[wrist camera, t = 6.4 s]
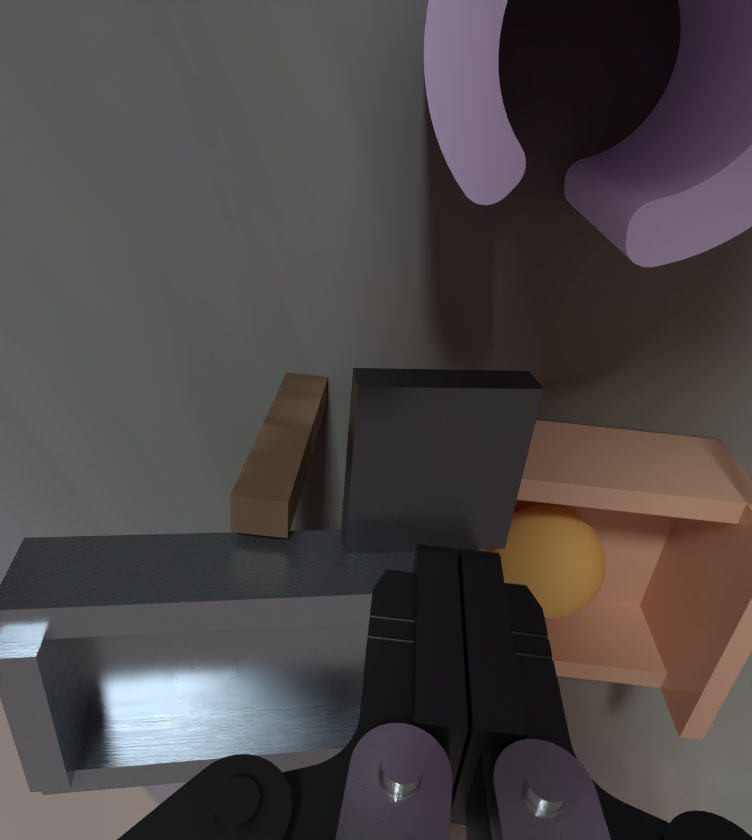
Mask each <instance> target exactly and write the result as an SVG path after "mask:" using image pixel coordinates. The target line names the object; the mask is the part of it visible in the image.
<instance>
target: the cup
mask: <svg viewBox="0 0 752 840" xmlns="http://www.w3.org/2000/svg"><path fill="white" fill-rule="evenodd" d="M535 505H554V506H559V507H563V508H565V509H568V510H570V511H572V512H574V513H576V514H577V515H579V516H580V517H582V518H583V519H584V520H585V521H586V522H587V523H588V524H589V525H590V526H591V527H592V528H593V530H594V531H595V533H596V534H597V536H598V538H599V539H600V542H601V545H602V547H603V550H604V555H605V574H604V579H603V582H602V585H601V587H600V589H599V591H598V593H597V595H596V596H595V597H594V599H593V600H592V601H591V602H590V603H589V604H588V605H587V606H585V607H584V608H583V609H581V610H580V611H578V612H576V613H574V614H572V615H569V616H566V617H561V618H545V622H546V627H547V632H548V639H549V641H550V646H551V651H552V661H554V665H555V670H556V675H557V676H562V677H571V678H579V679H588V680H596V681H605V682H614V683H622V684H631V685H640V686H648V687H657V688H661V690H662V693H663V696H664V698H665V701H666V703H667V706H668V709H669V711H670V714H671V717H672V719H673V722H674V724H675V727H676V730H677V732H678V735H679V737H680V738H689V739H697V740H703V738H704V737H705V735H706V733H707V731H708V729H709V728H710V726H711V724H712V722H713V720H714V718H715V717H716V715H717V713H718V711H719V709H720V708H721V706H722V704H723V702H724V700H725V698H726V697H727V695H728V693H729V691H730V689H731V688H732V686H733V684H734V682H735V680H736V678H737V677H738V675H739V673H740V671H741V669H742V668H743V666H744V664H745V662H746V660H747V658H748V657H749V655H750V653H751V651H752V480H751V478H750V477H749V476H748V475H747V473H746V472H745V471H744V470H743V468H742V467H741V466H740V464H739V463H738V462H737V461H736V459H735V458H734V457H733V456H732V454H731V453H730V452H729V451H728V449H727V448H726V447H725V446H724V444H723V443H722V442H721V441H720V440H718V439H709V438H700V437H691V436H682V435H672V434H663V433H654V432H645V431H635V430H626V429H617V428H608V427H599V426H589V425H580V424H571V423H562V422H553V421H543V420H536V423H535V427H534V431H533V435H532V439H531V443H530V447H529V451H528V456H527V460H526V464H525V468H524V472H523V476H522V480H521V484H520V489H519V493H518V497H517V501H516V505H515V509H514V513H516V512H518V511H520V510H522V509H524V508H527V507H530V506H535ZM514 513H513V514H514ZM479 550H480V551H486V552H491V549H479Z"/></svg>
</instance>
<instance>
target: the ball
mask: <svg viewBox="0 0 752 840" xmlns="http://www.w3.org/2000/svg"><path fill="white" fill-rule="evenodd" d="M491 552H495V553H499V554H500V557H501V563H502V570H503V576H504V583H512V584H520V585H527V587H528V588H529V590H530V591H531V592H532V594H533V595H534V597H535V598H536V600H537V601H538V603H539V604H540V605H541V607H542V608H543V613H544V618H561V617H566V616H569V615H572V614H574V613H576V612H578V611H580V610H581V609H583V608H584V607H585V606H587V605H588V604H589V603H590V602H591V601H592V600H593V599H594V597H595V596H596V595H597V593H598V591H599V589H600V587H601V585H602V582H603V579H604V574H605V555H604V550H603V547H602V545H601V542H600V539H599V538H598V536H597V534H596V533H595V531H594V530H593V528H592V527H591V526H590V525H589V524H588V523H587V522H586V521H585V520H584V519H583V518H582V517H580V516H579V515H577V514H576V513H574V512H572V511H570V510H568V509H565V508H563V507H559V506H554V505H535V506H530V507H527V508H524V509H522V510H520V511H518V512H516V513H514V514H513V517H512V522H511V526H510V530H509V534H508V538H507V542H506V546H505V549H491Z"/></svg>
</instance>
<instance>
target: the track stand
mask: <svg viewBox="0 0 752 840" xmlns="http://www.w3.org/2000/svg"><path fill="white" fill-rule="evenodd" d="M327 384H328V377H320V376H311V375H302V374H292V373H286V375H285V377H284V380H283V382H282V384H281V386H280V388H279V391H278V393H277V395H276V397H275V399H274V401H273V404H272V406H271V408H270V410H269V412H268V414H267V417H266V419H265V421H264V423H263V425H262V428H261V430H260V432H259V434H258V436H257V438H256V441H255V443H254V445H253V447H252V449H251V452H250V454H249V456H248V458H247V460H246V462H245V465H244V467H243V469H242V471H241V473H240V475H239V478H238V480H237V482H236V484H235V486H234V489H233V491H232V493H231V495H230V502H231V531H232V532H236V533H245V534H254V535H262V536H271V537H280V538H288V535H289V531H290V528H291V524H292V521H293V518H294V514H295V511H296V508H297V504H298V501H299V497H300V494H301V491H302V487H303V484H304V480H305V477H306V474H307V470H308V467H309V463H310V460H311V457H312V453H313V450H314V447H315V443H316V440H317V436H318V433H319V430H320V426H321V423H322V419H323V416H324V413H325V409H326V403H327Z"/></svg>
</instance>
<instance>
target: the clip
mask: <svg viewBox="0 0 752 840" xmlns="http://www.w3.org/2000/svg"><path fill="white" fill-rule="evenodd" d="M507 1H508V0H429V2H428V7H427V16H426V24H425V36H424V75H425V85H426V94H427V100H428V106H429V112H430V116H431V120H432V123H433V127H434V131H435V134H436V137H437V140H438V143H439V146H440V149H441V151H442V153H443V156H444V158H445V160H446V163H447V165H448V167H449V169H450V170H451V172H452V174H453V176H454V178H455V180H456V181H457V183H458V184H459V186H460V187H461V189H462V191H463V192H464V194H465V195H466V196H467V197H468V198H469V199H470V200H471V201H473V202H475V203H477V204H481V205H491V204H494V203H497V202H499V201H501V200H502V199H503V198H505V197H506V196H507V195H508V194H509V193H510V192H511V191H512V190H513V189H514V188H515V187H516V185H517V184H518V183H519V182H520V180H521V179H522V177H523V175H524V172H525V168H526V158H525V153H524V151H523V149H522V147H521V145H520V143H519V142H518V140H517V138H516V136H515V135H514V132H513V130H512V128H511V125H510V123H509V121H508V118H507V114H506V111H505V108H504V105H503V100H502V95H501V90H500V81H499V71H498V52H499V41H500V32H501V27H502V21H503V16H504V12H505V8H506V5H507ZM678 3H679V9H680V19H681V36H680V45H679V52H678V56H677V60H676V64H675V67H674V70H673V74H672V76H671V79H670V81H669V83H668V86H667V88H666V90H665V92H664V94H663V95H662V97H661V99H660V101H659V102H658V104H657V105H656V107H655V108H654V110H653V111H652V112H651V113H650V115H649V116H648V117H647V119H646V120H645V121H644V122H643V123H642V124H641V125H640V126H639V127H638V128H637V129H636V130H635V131H634V132H633V133H632V134H630V135H629V136H628V137H627V138H625V139H624V140H623V141H621V142H620V143H618V144H617V145H615V146H613V147H612V148H610V149H608V150H606V151H604V152H602V153H599V154H597V155H594V156H591V157H588V158H584V159H581V160H578V161H576V162H575V163H573V164H572V165H571V166H570V168H569V169H568V170H567V173H566V176H565V183H564V195H565V198H566V200H567V201H568V202H569V203H570V204H571V205H572V206H573V207H574V208H575V209H576V210H577V211H578V212H579V213H580V214H581V215H583V216H584V217H585V218H586V219H587V220H588V221H589V222H590V223H591V224H592V225H593V226H594V227H596V228H597V229H598V230H599V231H600V232H601V233H602V234H603V235H604V236H605V237H606V238H607V239H608V240H610V241H611V242H612V243H613V244H614V245H615V246H616V247H617V248H618V249H619V250H620V251H621V252H623V253H624V254H625V255H626V256H627V257H628V258H629V259H630V260H631V261H632V262H634V263H635V264H636V265H639V266H641V267H656V266H660V265H665V264H669V263H673V262H676V261H680V260H683V259H686V258H689V257H692V256H695V255H697V254H700V253H703V252H705V251H707V250H709V249H712V248H714V247H716V246H718V245H720V244H722V243H724V242H726V241H728V240H730V239H732V238H734V237H735V236H737V235H739V234H741V233H742V232H744V231H745V230H747V229H749V228H750V227H752V0H678Z"/></svg>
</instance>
